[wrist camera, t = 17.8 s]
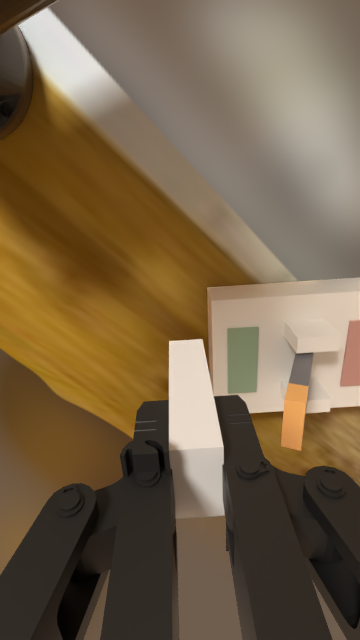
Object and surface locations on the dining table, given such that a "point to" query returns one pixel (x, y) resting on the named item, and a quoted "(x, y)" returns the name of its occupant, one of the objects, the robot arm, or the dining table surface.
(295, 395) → the breaker lever
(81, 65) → the dining table surface
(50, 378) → the dining table surface
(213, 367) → the box
